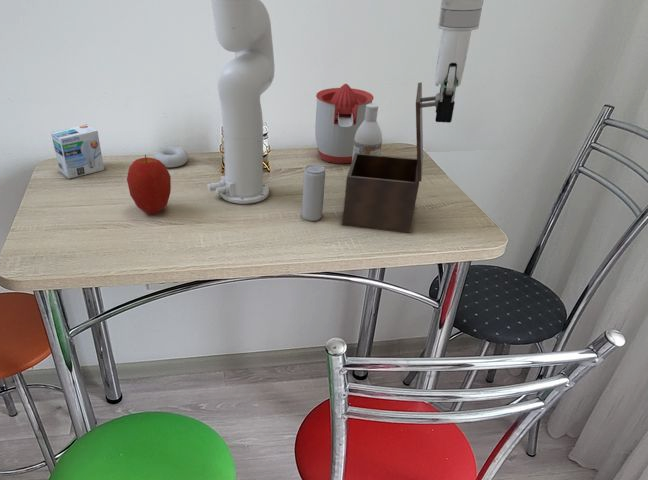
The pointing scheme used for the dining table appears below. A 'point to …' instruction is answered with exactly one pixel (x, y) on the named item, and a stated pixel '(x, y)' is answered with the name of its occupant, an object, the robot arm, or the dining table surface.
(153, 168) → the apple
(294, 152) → the dining table surface
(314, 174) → the beverage can
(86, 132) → the light bulb box
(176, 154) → the donut
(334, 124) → the citrus juicer
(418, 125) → the lid
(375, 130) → the bath foam
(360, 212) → the chest
